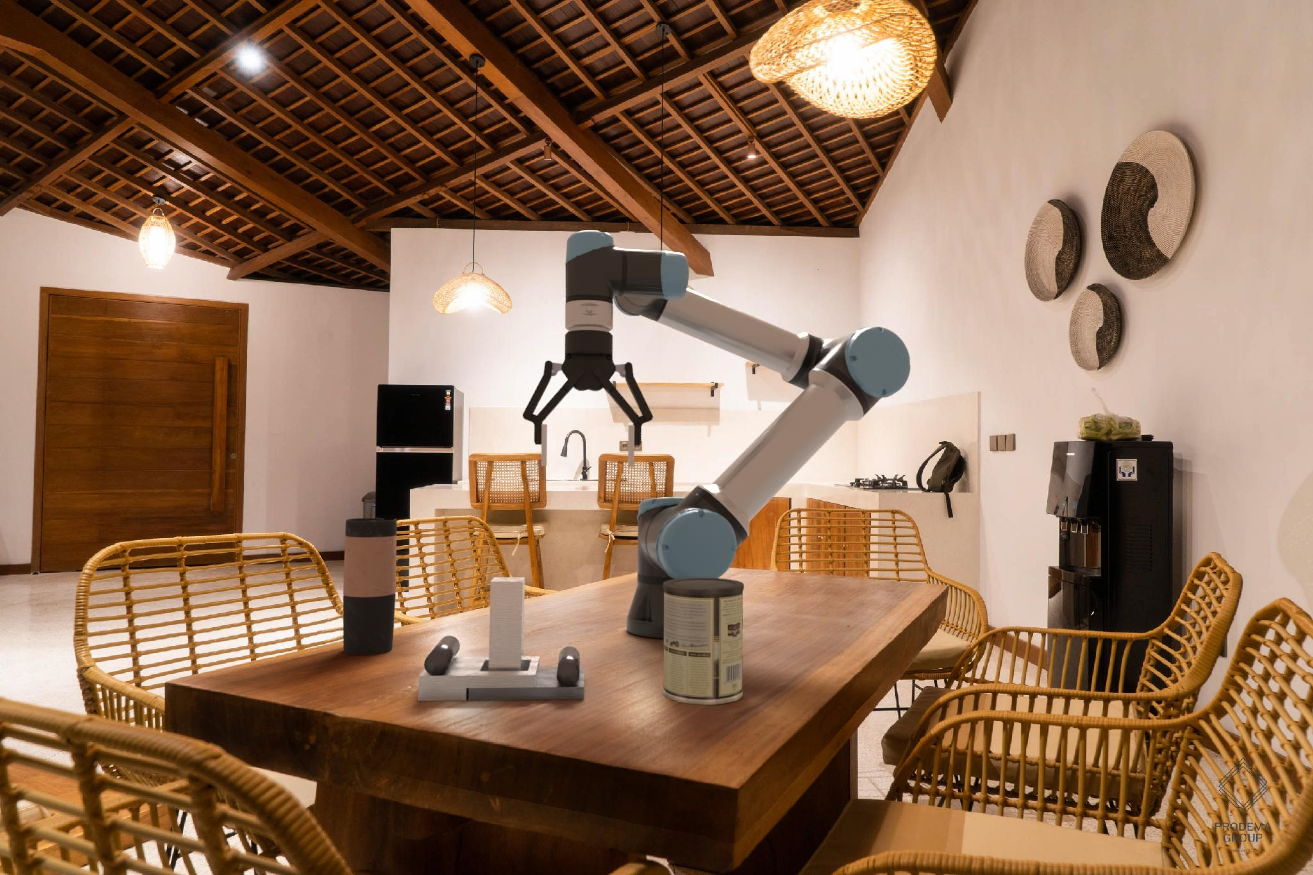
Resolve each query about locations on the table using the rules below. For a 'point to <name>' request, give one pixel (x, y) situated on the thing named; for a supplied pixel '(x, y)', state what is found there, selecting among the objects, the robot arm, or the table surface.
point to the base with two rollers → (497, 677)
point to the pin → (506, 624)
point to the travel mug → (369, 585)
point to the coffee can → (703, 640)
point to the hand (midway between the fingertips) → (587, 466)
